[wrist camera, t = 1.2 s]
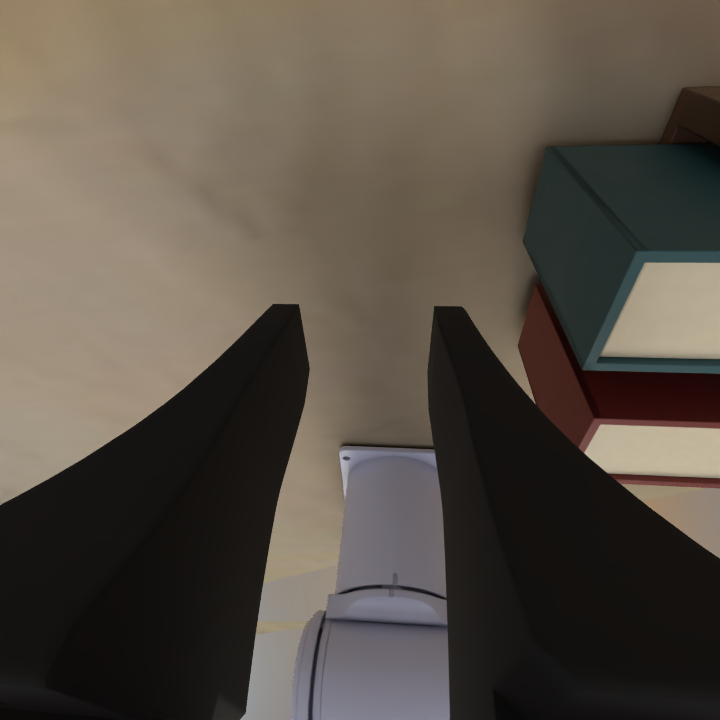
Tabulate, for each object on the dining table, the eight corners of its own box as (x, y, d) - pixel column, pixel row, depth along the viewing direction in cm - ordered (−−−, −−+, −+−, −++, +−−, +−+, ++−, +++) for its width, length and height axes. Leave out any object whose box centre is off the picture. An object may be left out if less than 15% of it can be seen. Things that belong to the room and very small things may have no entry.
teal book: (758, 241, 16) (947, 379, 10) (522, 241, 17) (581, 370, 11) (825, 141, 14) (1117, 251, 8) (546, 146, 14) (636, 250, 9)
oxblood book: (708, 349, 20) (828, 493, 14) (517, 345, 21) (559, 481, 15) (754, 285, 17) (920, 429, 12) (535, 283, 18) (594, 418, 13)
